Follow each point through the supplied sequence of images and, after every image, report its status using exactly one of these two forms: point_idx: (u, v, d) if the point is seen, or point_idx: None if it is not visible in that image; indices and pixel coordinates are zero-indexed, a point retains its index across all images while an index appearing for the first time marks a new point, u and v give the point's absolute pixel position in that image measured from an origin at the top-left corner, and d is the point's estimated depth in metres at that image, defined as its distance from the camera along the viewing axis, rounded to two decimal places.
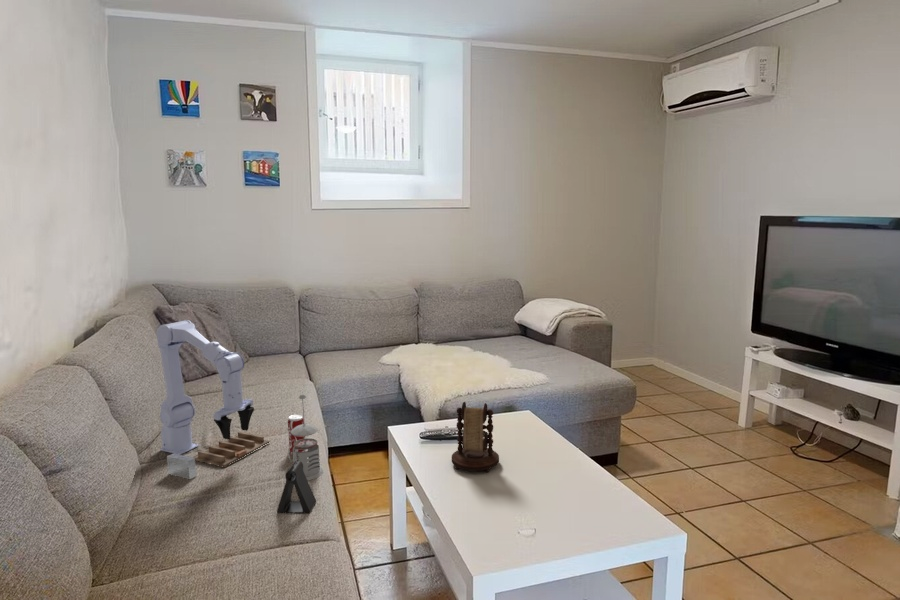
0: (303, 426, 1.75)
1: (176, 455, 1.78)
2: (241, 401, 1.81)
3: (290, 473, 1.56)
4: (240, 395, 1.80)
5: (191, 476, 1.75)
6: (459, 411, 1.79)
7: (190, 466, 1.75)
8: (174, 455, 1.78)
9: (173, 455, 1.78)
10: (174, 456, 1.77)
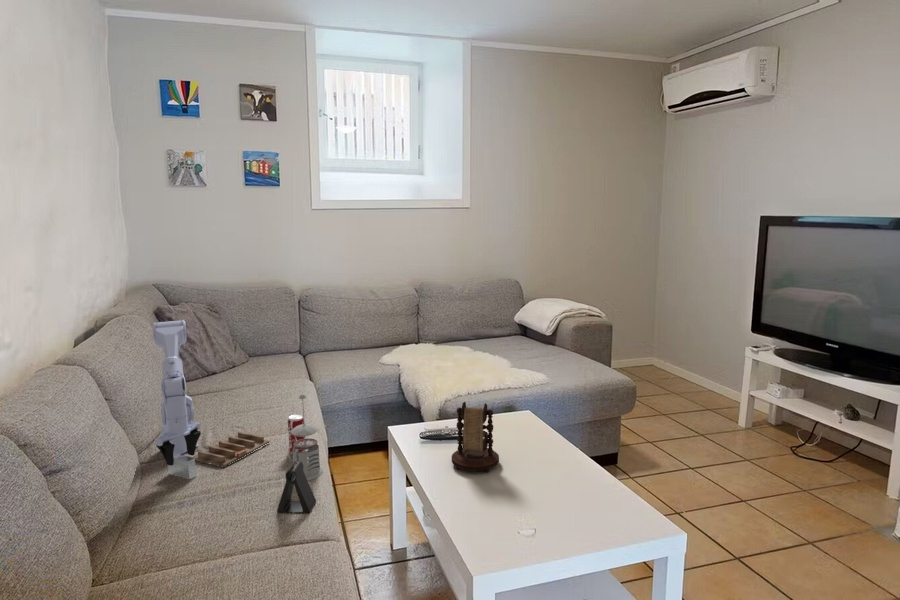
0: (303, 426, 1.75)
1: (176, 455, 1.78)
2: (185, 425, 1.74)
3: (290, 473, 1.56)
4: (184, 419, 1.74)
5: (191, 476, 1.75)
6: (459, 411, 1.79)
7: (190, 466, 1.75)
8: (174, 455, 1.78)
9: (173, 455, 1.78)
10: (174, 456, 1.77)
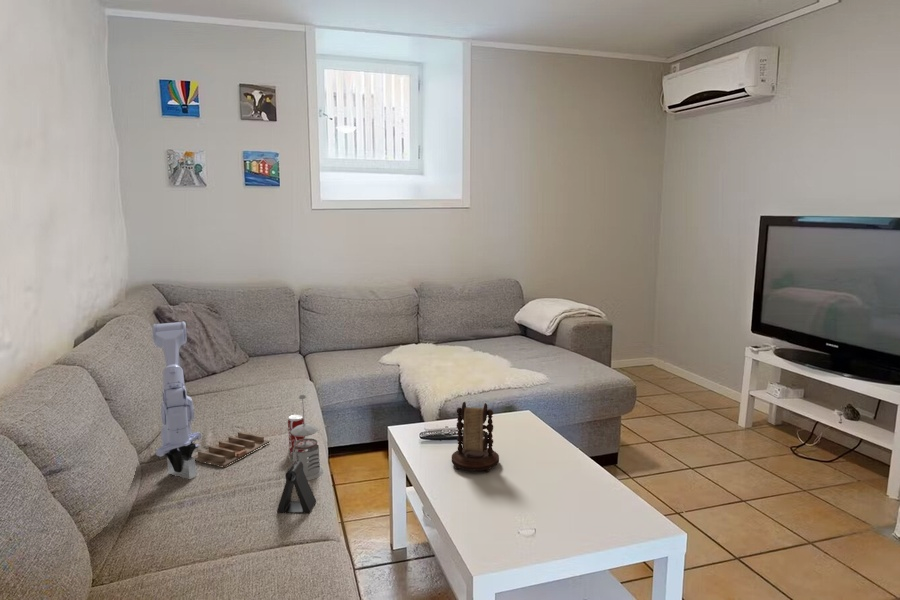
0: (303, 426, 1.75)
1: None
2: (186, 436, 1.75)
3: (290, 473, 1.56)
4: (185, 430, 1.74)
5: (191, 476, 1.75)
6: (459, 411, 1.79)
7: (190, 466, 1.75)
8: None
9: None
10: None
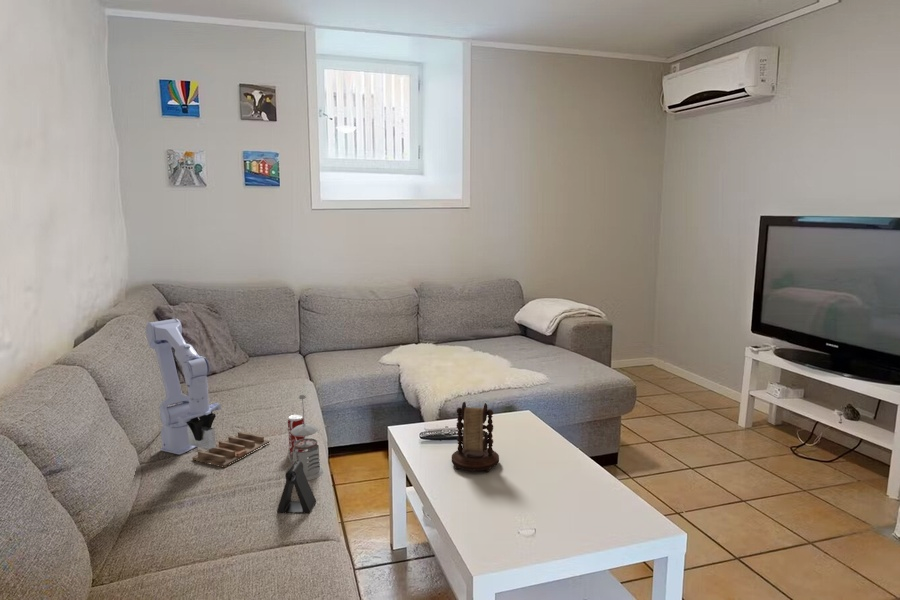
0: (303, 426, 1.75)
1: None
2: (207, 405, 1.81)
3: (290, 473, 1.56)
4: (206, 399, 1.80)
5: (210, 445, 1.81)
6: (459, 411, 1.79)
7: (210, 436, 1.81)
8: None
9: None
10: None
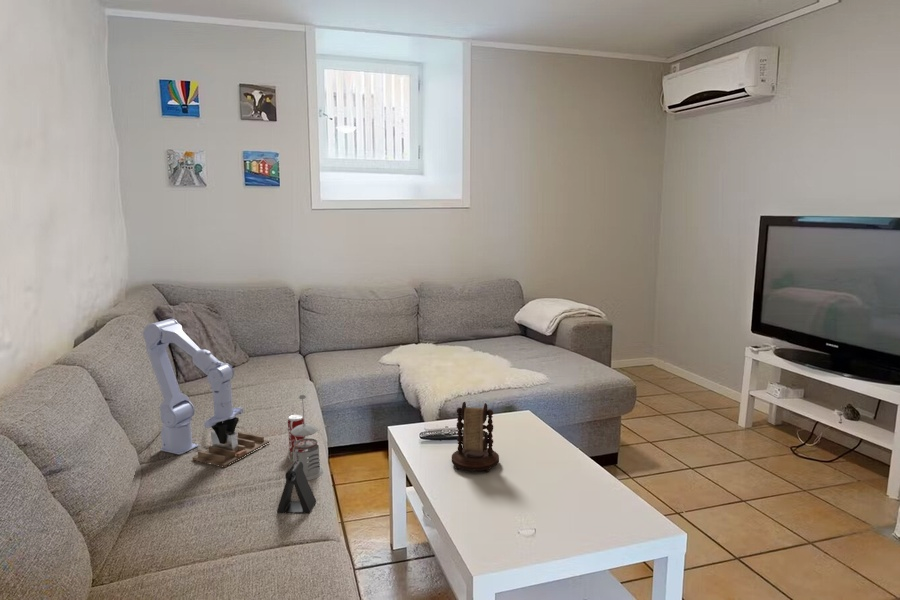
0: (303, 426, 1.75)
1: None
2: (231, 410, 1.89)
3: (290, 473, 1.56)
4: (230, 404, 1.89)
5: (234, 449, 1.90)
6: (459, 411, 1.79)
7: (233, 440, 1.89)
8: None
9: None
10: None
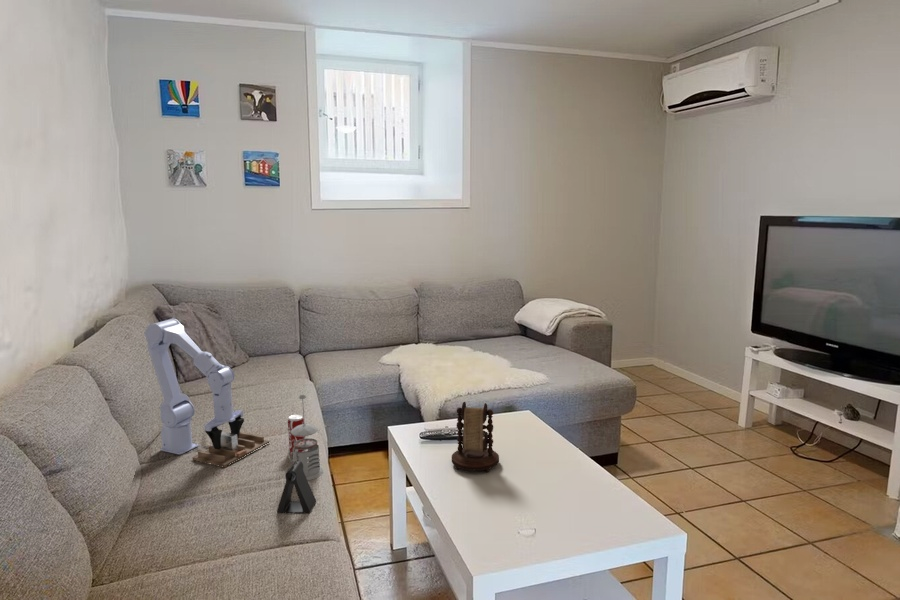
0: (303, 426, 1.75)
1: None
2: (231, 413, 1.89)
3: (290, 473, 1.56)
4: (230, 407, 1.89)
5: None
6: (459, 411, 1.79)
7: (233, 441, 1.89)
8: None
9: None
10: None
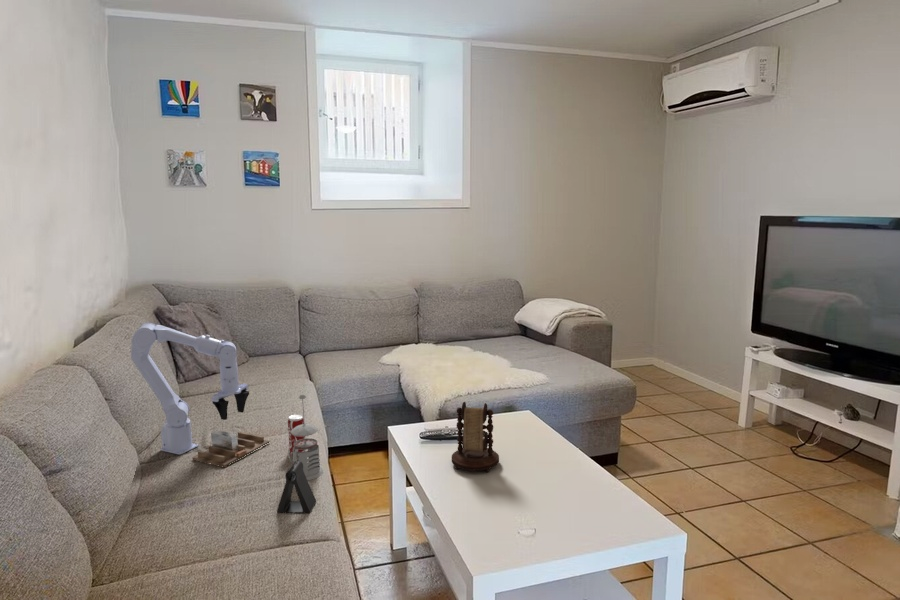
0: (303, 426, 1.75)
1: (219, 432, 1.93)
2: (237, 385, 1.99)
3: (290, 473, 1.56)
4: (236, 380, 1.98)
5: None
6: (459, 411, 1.79)
7: (233, 441, 1.89)
8: (217, 432, 1.93)
9: (216, 432, 1.93)
10: (218, 432, 1.92)
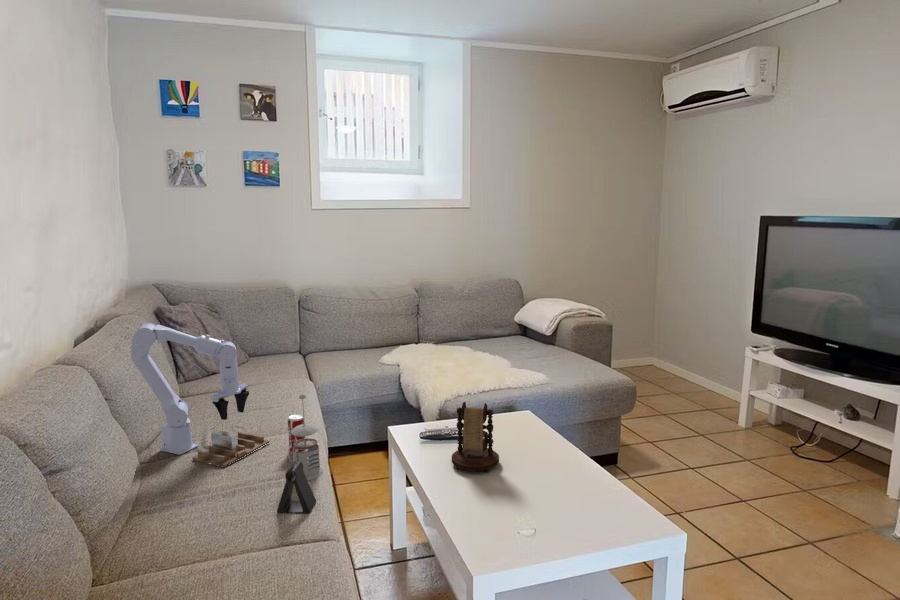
0: (303, 426, 1.75)
1: (219, 432, 1.93)
2: (237, 385, 1.99)
3: (290, 473, 1.56)
4: (236, 380, 1.98)
5: None
6: (459, 411, 1.79)
7: (233, 441, 1.89)
8: (217, 432, 1.93)
9: (216, 432, 1.93)
10: (218, 432, 1.92)
